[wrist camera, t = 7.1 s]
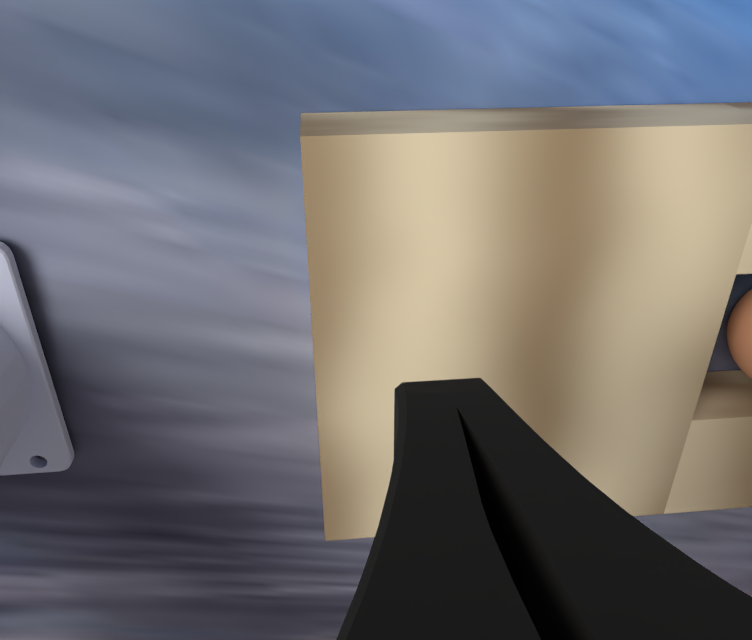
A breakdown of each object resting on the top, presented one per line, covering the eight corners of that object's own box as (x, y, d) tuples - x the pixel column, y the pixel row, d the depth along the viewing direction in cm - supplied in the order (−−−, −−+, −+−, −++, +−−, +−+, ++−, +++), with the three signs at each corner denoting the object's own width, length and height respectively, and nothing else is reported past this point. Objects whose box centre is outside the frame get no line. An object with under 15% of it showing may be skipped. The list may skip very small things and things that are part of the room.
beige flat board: (323, 485, 23) (325, 541, 21) (300, 113, 16) (299, 136, 14) (794, 451, 24) (842, 499, 22) (941, 97, 18) (1028, 116, 16)
